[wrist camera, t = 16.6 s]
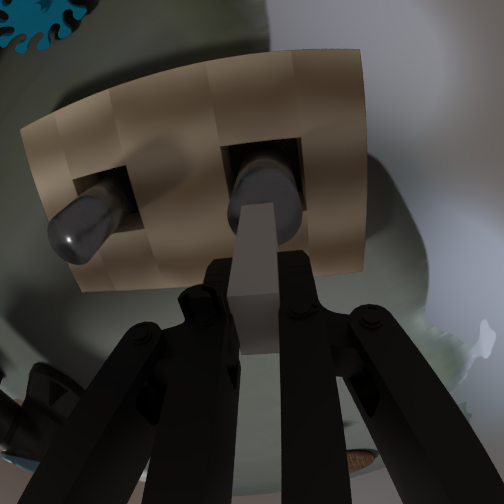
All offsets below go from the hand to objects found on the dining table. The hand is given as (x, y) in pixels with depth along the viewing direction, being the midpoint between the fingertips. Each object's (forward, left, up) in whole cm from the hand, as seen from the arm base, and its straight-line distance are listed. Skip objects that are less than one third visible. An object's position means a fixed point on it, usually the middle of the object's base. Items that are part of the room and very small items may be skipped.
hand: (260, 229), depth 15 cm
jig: (0, +6, -11) cm, 13 cm away
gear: (+20, +16, -12) cm, 28 cm away
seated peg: (0, +13, -11) cm, 17 cm away
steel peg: (0, 0, -11) cm, 11 cm away
